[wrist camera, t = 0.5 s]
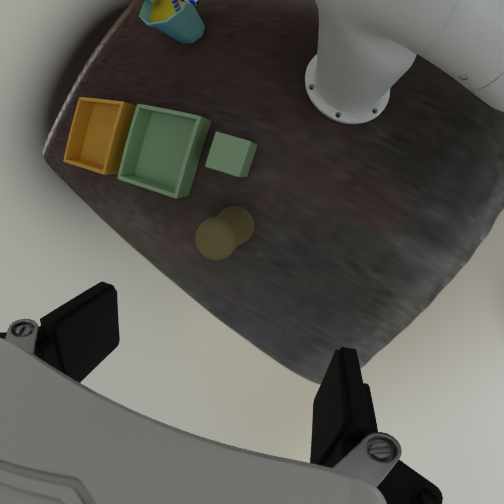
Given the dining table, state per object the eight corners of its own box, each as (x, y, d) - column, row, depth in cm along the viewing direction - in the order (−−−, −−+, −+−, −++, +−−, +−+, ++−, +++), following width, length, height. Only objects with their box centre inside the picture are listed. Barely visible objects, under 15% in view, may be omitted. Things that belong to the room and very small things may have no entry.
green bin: (151, 108, 41) (137, 103, 36) (211, 121, 40) (201, 116, 36) (132, 177, 45) (117, 178, 40) (188, 196, 44) (176, 198, 39)
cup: (241, 28, 35) (213, -23, 20) (215, 64, 37) (175, 23, 23) (176, 8, 35) (135, -32, 20) (152, 40, 37) (103, 8, 23)
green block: (226, 135, 40) (215, 131, 35) (257, 145, 40) (251, 141, 35) (216, 167, 42) (204, 166, 37) (247, 177, 41) (239, 177, 36)
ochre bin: (94, 100, 42) (79, 96, 38) (138, 106, 41) (123, 101, 37) (79, 161, 46) (63, 161, 41) (120, 173, 45) (104, 174, 40)
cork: (210, 234, 45) (181, 253, 34) (224, 199, 43) (197, 207, 32) (245, 251, 44) (226, 275, 34) (260, 215, 42) (245, 229, 32)
